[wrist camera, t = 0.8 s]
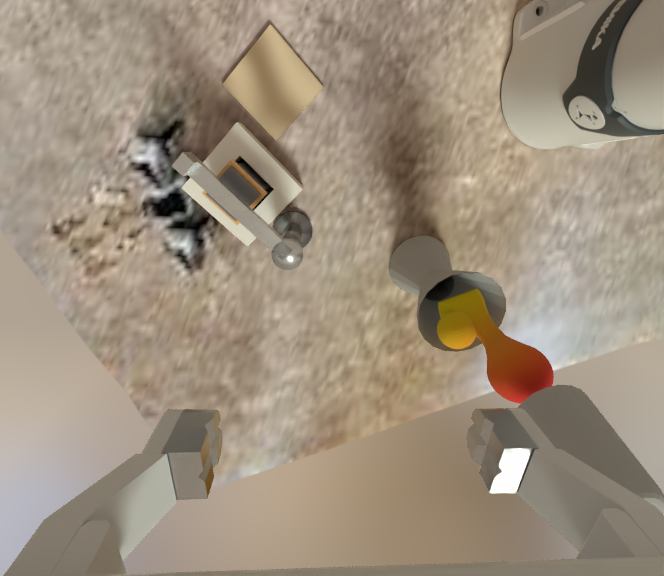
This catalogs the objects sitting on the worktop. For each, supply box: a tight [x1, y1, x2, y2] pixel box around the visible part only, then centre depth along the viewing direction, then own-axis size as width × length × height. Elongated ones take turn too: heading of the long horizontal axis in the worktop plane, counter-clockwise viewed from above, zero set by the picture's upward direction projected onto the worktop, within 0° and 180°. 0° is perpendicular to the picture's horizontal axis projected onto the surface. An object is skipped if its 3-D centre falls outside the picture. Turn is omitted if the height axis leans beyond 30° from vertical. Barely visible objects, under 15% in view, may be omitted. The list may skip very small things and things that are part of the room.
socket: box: [182, 122, 303, 247], centre depth 41 cm, size 10×10×3 cm
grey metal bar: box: [172, 152, 303, 270], centre depth 33 cm, size 15×3×2 cm, turn 44°
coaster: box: [222, 24, 323, 140], centre depth 38 cm, size 8×8×1 cm
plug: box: [202, 159, 270, 225], centre depth 39 cm, size 5×5×8 cm
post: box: [274, 211, 312, 248], centre depth 40 cm, size 5×5×10 cm
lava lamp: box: [389, 235, 664, 514], centre depth 31 cm, size 9×9×35 cm
